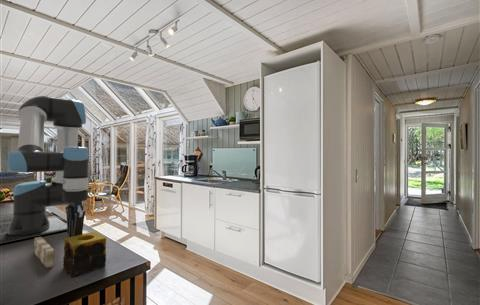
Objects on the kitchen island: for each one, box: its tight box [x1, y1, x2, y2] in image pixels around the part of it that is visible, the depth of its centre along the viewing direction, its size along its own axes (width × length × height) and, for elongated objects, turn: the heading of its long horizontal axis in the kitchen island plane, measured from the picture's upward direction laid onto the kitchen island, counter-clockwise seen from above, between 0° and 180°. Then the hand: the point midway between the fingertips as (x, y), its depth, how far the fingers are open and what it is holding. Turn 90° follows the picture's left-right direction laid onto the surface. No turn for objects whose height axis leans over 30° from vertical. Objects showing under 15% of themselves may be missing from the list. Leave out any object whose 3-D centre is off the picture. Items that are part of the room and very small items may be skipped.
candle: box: [62, 231, 107, 278], centre depth 81 cm, size 10×10×10 cm
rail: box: [33, 236, 55, 269], centre depth 86 cm, size 18×2×6 cm, turn 51°
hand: (74, 254), depth 86 cm, fingers closed
